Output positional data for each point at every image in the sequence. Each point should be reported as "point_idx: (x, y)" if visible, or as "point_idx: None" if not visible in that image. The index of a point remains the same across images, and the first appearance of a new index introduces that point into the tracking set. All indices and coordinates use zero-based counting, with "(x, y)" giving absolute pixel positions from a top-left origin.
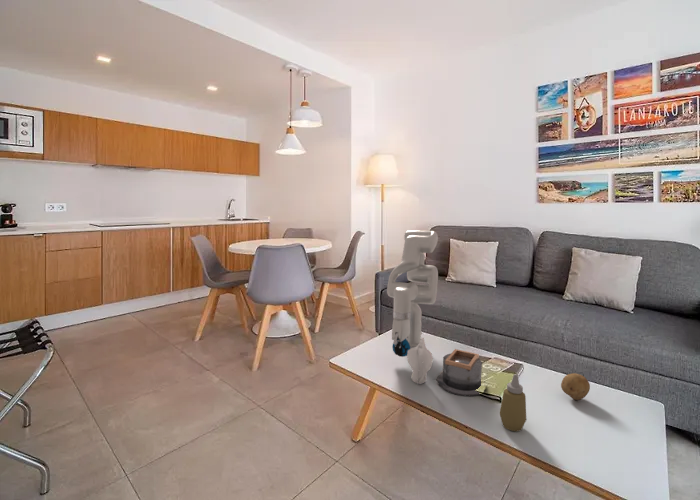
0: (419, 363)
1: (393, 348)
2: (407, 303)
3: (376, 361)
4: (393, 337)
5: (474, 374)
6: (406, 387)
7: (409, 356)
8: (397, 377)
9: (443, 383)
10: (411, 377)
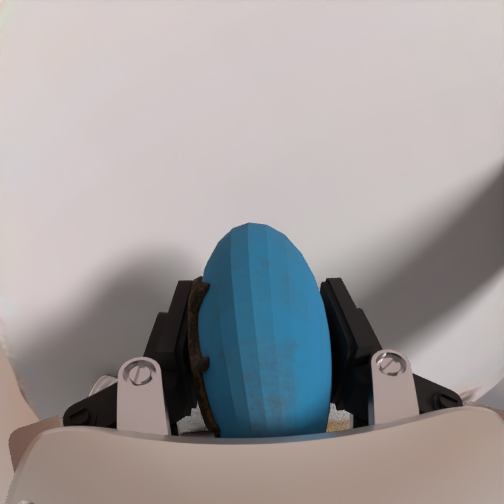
0: None
1: (209, 264)
2: None
3: (179, 54)
4: (29, 491)
5: None
6: (49, 365)
7: None
8: (74, 308)
9: None
10: (95, 385)
